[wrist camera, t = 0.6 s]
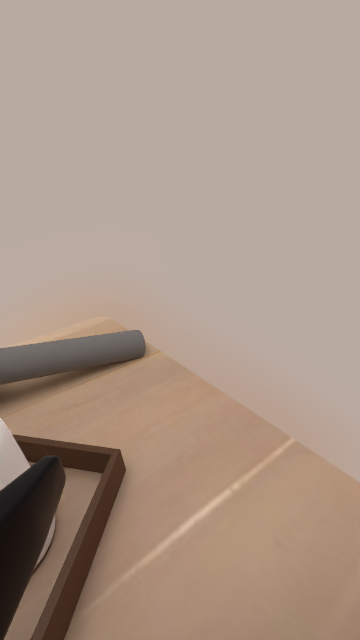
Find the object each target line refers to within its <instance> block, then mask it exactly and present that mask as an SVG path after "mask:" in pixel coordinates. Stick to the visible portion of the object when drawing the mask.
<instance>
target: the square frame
mask: <svg viewBox="0 0 360 640" xmlns="http://www.w3.org/2000/svg"><path fill="white" fill-rule="evenodd" d="M13 437H14V439H15V440H16V442H17V444H18V446H19V447H20V449H21V451H22V452H23V454H24V456H25V458H26V459H27V461H33V462H37V461H39V460H40V459H41V458H43V457H44V456H48V455H51V456H59V457H60V458H61V461H62V465H63V466H64V467H70V468H77V469H83V470H89V471H95V472H102V473H103V475H102V477H101V480H100V482H99V484H98V486H97V489H96V491H95V493H94V496H93V498H92V500H91V503H90V505H89V507H88V509H87V512H86V514H85V516H84V519H83V521H82V523H81V526H80V528H79V530H78V532H77V535H76V537H75V539H74V542H73V544H72V546H71V549H70V551H69V553H68V555H67V558H66V560H65V562H64V565H63V567H62V569H61V572H60V574H59V576H58V578H57V581H56V583H55V585H54V588H53V590H52V592H51V594H50V597H49V599H48V601H47V604H46V606H45V608H44V611H43V613H42V615H41V617H40V620H39V622H38V624H37V627H36V629H35V631H34V634H33V636H32V638H31V640H64V637H65V634H66V632H67V629H68V626H69V624H70V621H71V618H72V615H73V613H74V610H75V607H76V605H77V602H78V599H79V596H80V594H81V591H82V588H83V585H84V583H85V580H86V577H87V575H88V572H89V569H90V566H91V564H92V561H93V558H94V555H95V553H96V550H97V547H98V545H99V542H100V539H101V536H102V534H103V531H104V528H105V525H106V523H107V520H108V517H109V515H110V512H111V509H112V506H113V504H114V501H115V498H116V495H117V493H118V490H119V487H120V485H121V482H122V479H123V476H124V474H125V471H126V469H125V465H124V462H123V458H122V454H121V451H120V449H112V448H105V447H98V446H91V445H84V444H77V443H70V442H62V441H55V440H48V439H41V438H34V437H27V436H19V435H13Z"/></svg>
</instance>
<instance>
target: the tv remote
mask: <svg viewBox="0 0 360 640" xmlns="http://www.w3.org/2000/svg"><path fill="white" fill-rule="evenodd" d="M145 348H146V347H145V340H144V337H143V335H142V333H141V332H140V331H139V330H132V331H124V332H117V333H110V334H102V335H95V336H88V337H81V338H73V339H66V340H59V341H52V342H44V343H37V344H30V345H23V346H15V347H8V348H1V349H0V385H1V384H6V383H12V382H17V381H22V380H27V379H32V378H38V377H43V376H48V375H53V374H58V373H64V372H69V371H74V370H79V369H85V368H90V367H95V366H100V365H105V364H111V363H116V362H121V361H126V360H132V359H137V358H140V357H142V356H143V355H144V353H145Z"/></svg>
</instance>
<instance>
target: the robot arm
mask: <svg viewBox="0 0 360 640" xmlns="http://www.w3.org/2000/svg"><path fill="white" fill-rule="evenodd" d="M65 479H66V477H65V472H64V468H63V465H62V461H61V458H60V457H59V456H51V455H48V456H44V457H43V458H41V459H40V460H39V461H37V462H36V463H35V464H34V465H32V466H31V467H30V468H28V469H27V470H26V471H25V472H23V473H22V474H21V475H20V476H18V477H17V478H16V479H14V480H13V481H12V482H11V483H9V484H8V485H7V486H6V487H4V488H3V489H2V490H0V640H4V638H5V635H6V633H7V631H8V628H9V626H10V624H11V621H12V619H13V617H14V614H15V612H16V610H17V607H18V605H19V603H20V601H21V598H22V596H23V594H24V591H25V589H26V587H27V584H28V582H29V580H30V577H31V575H32V573H33V570H34V568H35V566H36V563H37V561H38V559H39V556H40V554H41V552H42V549H43V547H44V544H45V541H46V539H47V536H48V533H49V530H50V527H51V524H52V521H53V518H54V515H55V512H56V509H57V506H58V503H59V500H60V497H61V494H62V491H63V488H64V485H65Z"/></svg>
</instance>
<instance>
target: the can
mask: <svg viewBox="0 0 360 640" xmlns="http://www.w3.org/2000/svg"><path fill="white" fill-rule="evenodd" d="M30 467H31V466H30V465H29V463H28V461H27V459H26V458H25V456H24V454H23V452H22V451H21V449H20V447H19V446H18V444H17V442H16V440H15V439H14V437H13V435H12V434H11V432H10V430H9V429H8V427H7V426H6V424H5V423H4V421H3V420H2V419H1V418H0V490H2V489H3V488H4V487H6V486H7V485H8V484H9V483H11V482H12V481H13V480H14V479H16V478H17V477H18V476H20V475H21V474H22V473H23V472H25V471H26V470H27V469H28V468H30ZM54 530H55V515H54V518H53V521H52V524H51V527H50V530H49V533H48V536H47V539H46V541H45V544H44V547H43V549H42V552H41V554H40V556H39V559H38V561H37V563H36V566H37V565H38V564H39V562H40V561H41V560H42V558H43V556H44V555H45V553H46V551H47V549H48V547H49V545H50V543H51V540H52V537H53V534H54ZM36 566H35V568H36ZM35 568H34V569H35Z"/></svg>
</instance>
